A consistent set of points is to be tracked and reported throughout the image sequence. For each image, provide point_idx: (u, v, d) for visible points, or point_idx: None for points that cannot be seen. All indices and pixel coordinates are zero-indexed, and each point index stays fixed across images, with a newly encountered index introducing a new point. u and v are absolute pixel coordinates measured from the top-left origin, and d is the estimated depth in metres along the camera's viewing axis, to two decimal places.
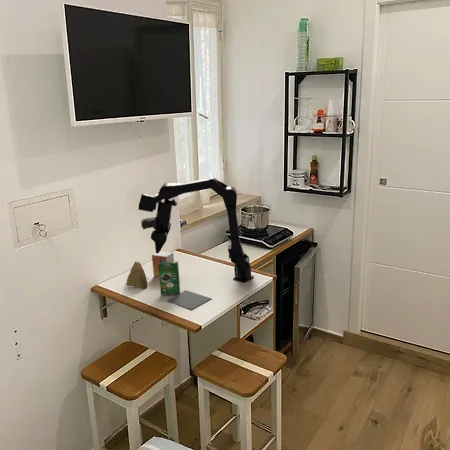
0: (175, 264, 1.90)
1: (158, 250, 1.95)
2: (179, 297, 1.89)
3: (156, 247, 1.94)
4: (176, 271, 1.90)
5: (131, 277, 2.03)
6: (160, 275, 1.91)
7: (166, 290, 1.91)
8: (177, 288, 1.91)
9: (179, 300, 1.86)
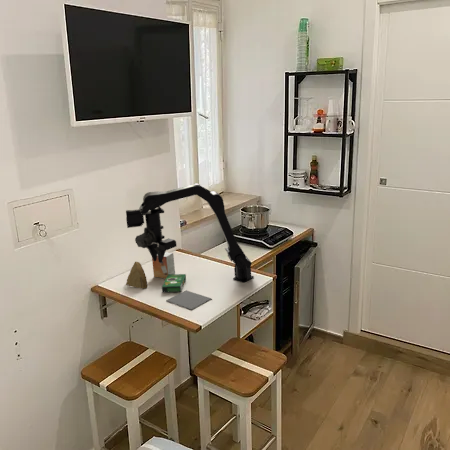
0: (183, 274, 2.05)
1: (161, 258, 1.92)
2: (179, 297, 1.89)
3: (160, 256, 1.90)
4: (183, 277, 2.02)
5: (131, 277, 2.03)
6: (167, 278, 2.02)
7: (168, 284, 1.96)
8: (179, 283, 1.96)
9: (179, 300, 1.86)
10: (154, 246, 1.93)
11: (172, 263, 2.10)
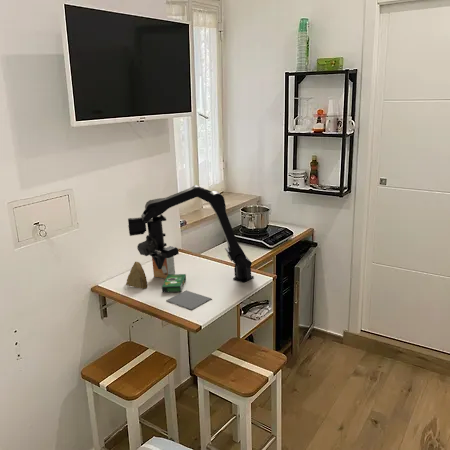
0: (183, 274, 2.05)
1: (161, 265, 1.93)
2: (179, 297, 1.89)
3: (160, 263, 1.92)
4: (183, 277, 2.02)
5: (131, 277, 2.03)
6: (167, 278, 2.02)
7: (168, 284, 1.96)
8: (179, 283, 1.96)
9: (179, 300, 1.86)
10: None
11: (172, 263, 2.10)
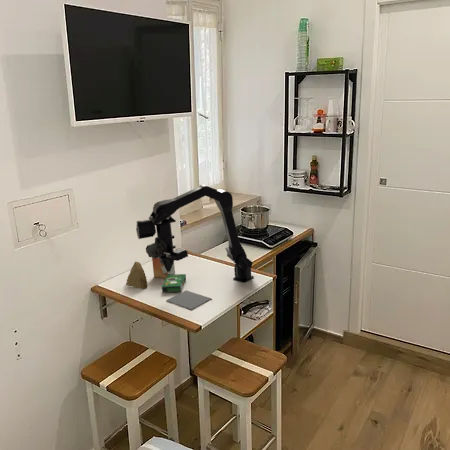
0: (183, 274, 2.05)
1: (170, 268, 1.90)
2: (179, 297, 1.89)
3: (169, 265, 1.88)
4: (183, 277, 2.02)
5: (131, 277, 2.03)
6: (167, 278, 2.02)
7: (168, 284, 1.96)
8: (179, 283, 1.96)
9: (179, 300, 1.86)
10: None
11: None
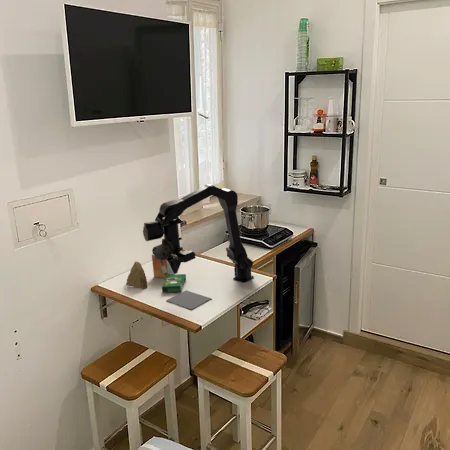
0: (183, 274, 2.05)
1: (177, 269, 1.87)
2: (179, 297, 1.89)
3: (176, 267, 1.86)
4: (183, 277, 2.02)
5: (131, 277, 2.03)
6: (167, 278, 2.02)
7: (168, 284, 1.96)
8: (179, 283, 1.96)
9: (179, 300, 1.86)
10: None
11: None
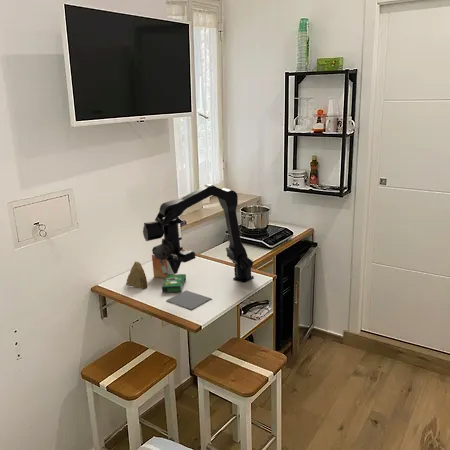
0: (183, 274, 2.05)
1: (177, 269, 1.87)
2: (179, 297, 1.89)
3: (176, 267, 1.86)
4: (183, 277, 2.02)
5: (131, 277, 2.03)
6: (167, 278, 2.02)
7: (168, 284, 1.96)
8: (179, 283, 1.96)
9: (179, 300, 1.86)
10: None
11: None
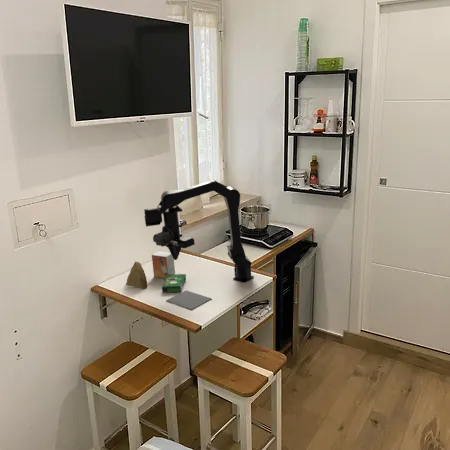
0: (183, 274, 2.05)
1: (177, 256, 1.94)
2: (179, 297, 1.89)
3: (176, 254, 1.93)
4: (183, 277, 2.02)
5: (131, 277, 2.03)
6: (167, 278, 2.02)
7: (168, 284, 1.96)
8: (179, 283, 1.96)
9: (179, 300, 1.86)
10: None
11: (172, 263, 2.10)
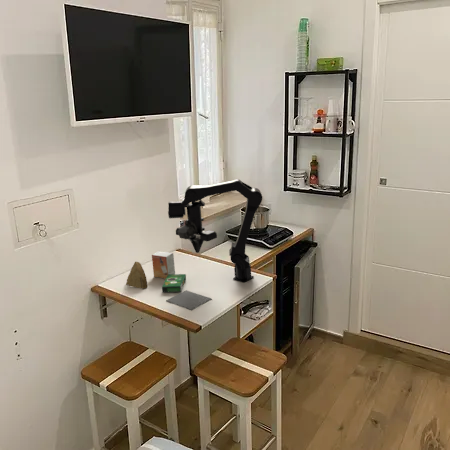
0: (183, 274, 2.05)
1: (199, 249, 1.99)
2: (179, 297, 1.89)
3: (198, 247, 1.98)
4: (183, 277, 2.02)
5: (131, 277, 2.03)
6: (167, 278, 2.02)
7: (168, 284, 1.96)
8: (179, 283, 1.96)
9: (179, 300, 1.86)
10: None
11: (172, 263, 2.10)
